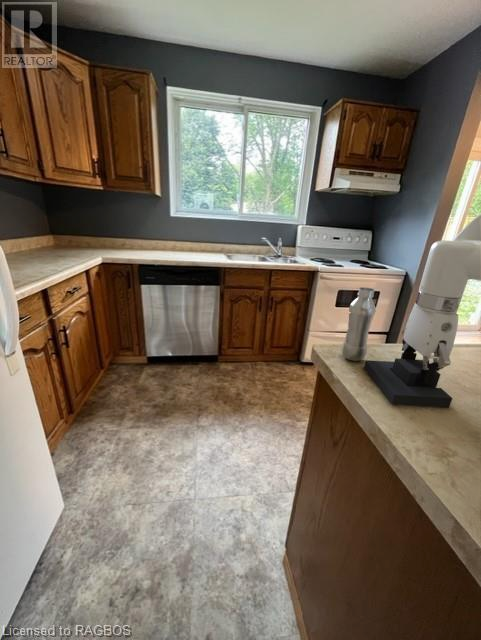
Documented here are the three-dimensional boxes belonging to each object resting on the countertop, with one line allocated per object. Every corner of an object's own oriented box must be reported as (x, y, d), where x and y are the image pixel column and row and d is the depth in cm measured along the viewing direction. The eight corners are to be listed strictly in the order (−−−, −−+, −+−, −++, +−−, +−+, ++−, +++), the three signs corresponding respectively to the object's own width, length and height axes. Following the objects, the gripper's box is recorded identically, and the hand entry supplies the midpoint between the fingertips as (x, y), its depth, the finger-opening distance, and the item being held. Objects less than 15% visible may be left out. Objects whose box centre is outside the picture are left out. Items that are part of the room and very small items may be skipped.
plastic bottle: (370, 361, 75) (387, 291, 68) (351, 365, 72) (366, 292, 65) (353, 351, 80) (367, 285, 73) (334, 354, 78) (347, 286, 71)
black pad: (418, 372, 66) (422, 359, 65) (436, 387, 60) (440, 374, 59) (391, 370, 66) (395, 358, 65) (406, 386, 60) (410, 372, 59)
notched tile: (409, 370, 71) (411, 362, 70) (449, 408, 57) (452, 398, 56) (363, 368, 71) (365, 360, 70) (391, 404, 57) (394, 394, 56)
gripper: (489, 316, 49) (456, 399, 55) (428, 292, 65) (409, 358, 71) (447, 314, 49) (419, 397, 55) (397, 291, 65) (380, 357, 71)
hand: (414, 375), depth 63 cm, fingers closed on black pad, 6 cm apart
